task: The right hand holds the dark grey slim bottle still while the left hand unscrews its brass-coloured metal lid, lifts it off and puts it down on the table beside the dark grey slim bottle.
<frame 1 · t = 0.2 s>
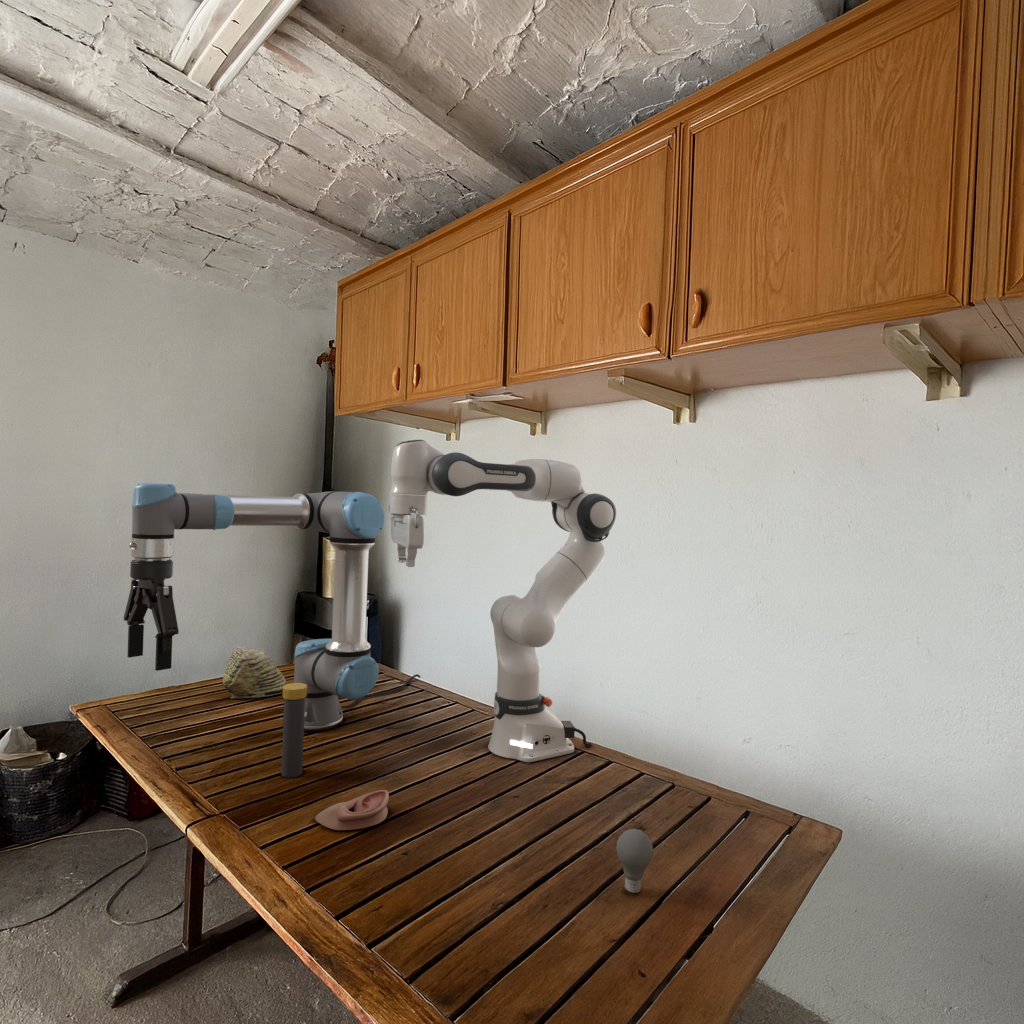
left hand: (148, 662, 129), 28 cm above the table, tool pointing down, fingers open, 13 cm apart
right hand: (405, 564, 152), 48 cm above the table, tool pointing down, fingers open, 8 cm apart
fossil: (254, 694, 198), on the table
anatomical model: (352, 817, 126), on the table
lid: (295, 687, 144), point 20 cm above the table, screwed on, not yet turned
dark grey slim bottle: (291, 773, 144), on the table
light bulb: (632, 891, 106), on the table
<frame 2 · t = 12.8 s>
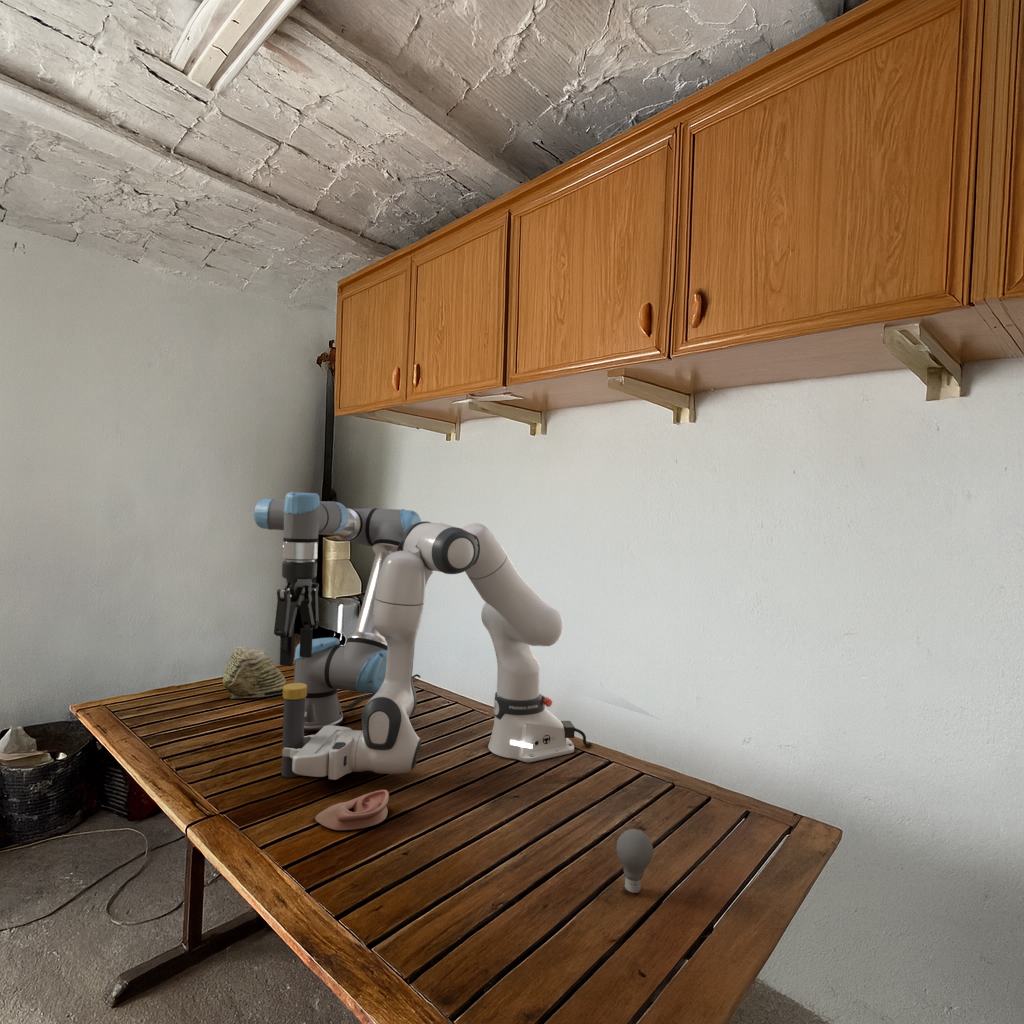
left hand: (296, 660, 144), 26 cm above the table, tool pointing down, fingers open, 7 cm apart
right hand: (289, 746, 144), 6 cm above the table, tool horizontal, fingers closed on dark grey slim bottle, 4 cm apart
dark grey slim bottle: (291, 773, 144), on the table, touching right hand
everything else where it was.
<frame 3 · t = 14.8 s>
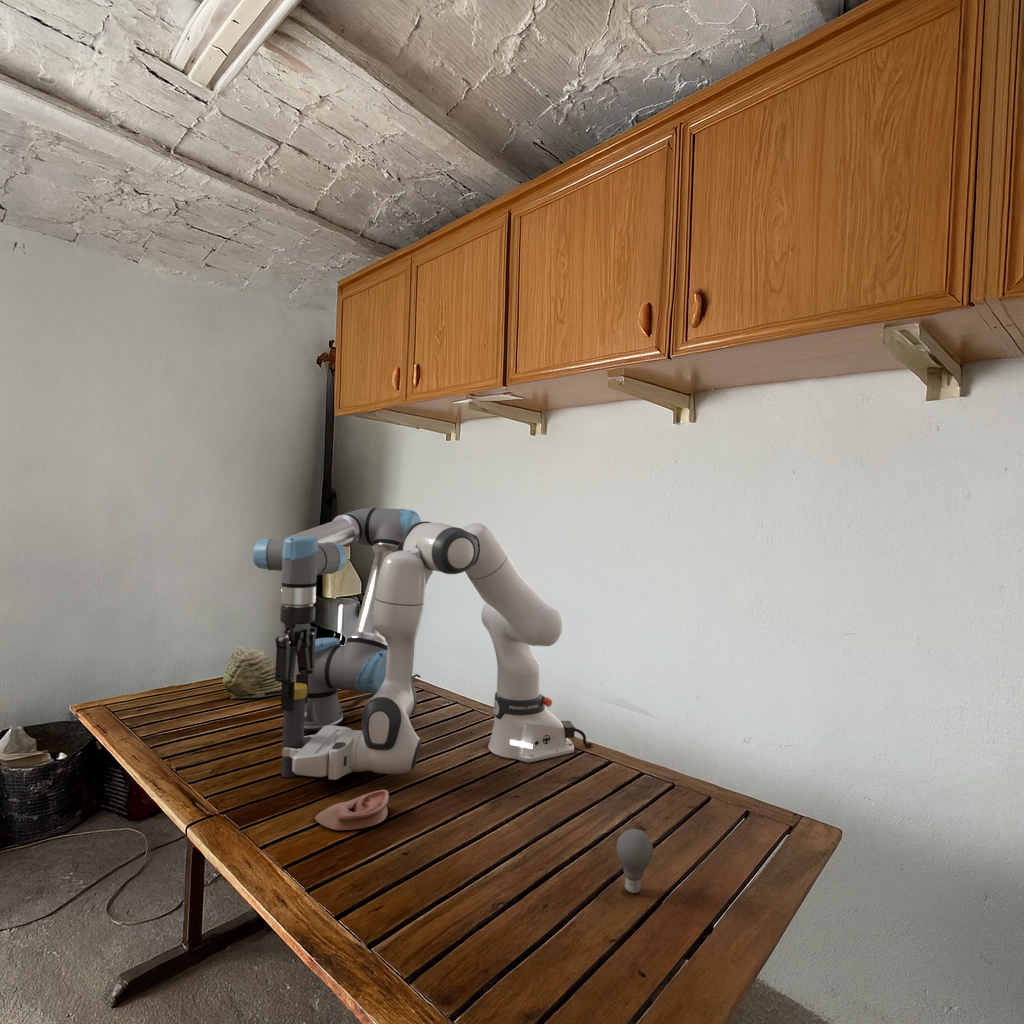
left hand: (294, 706, 144), 15 cm above the table, tool pointing down, fingers closed on lid, 5 cm apart
right hand: (288, 746, 144), 6 cm above the table, tool horizontal, fingers closed on dark grey slim bottle, 4 cm apart
lid: (295, 687, 144), point 20 cm above the table, screwed on, not yet turned, touching left hand
dark grey slim bottle: (291, 773, 144), on the table, touching right hand
everything else where it was.
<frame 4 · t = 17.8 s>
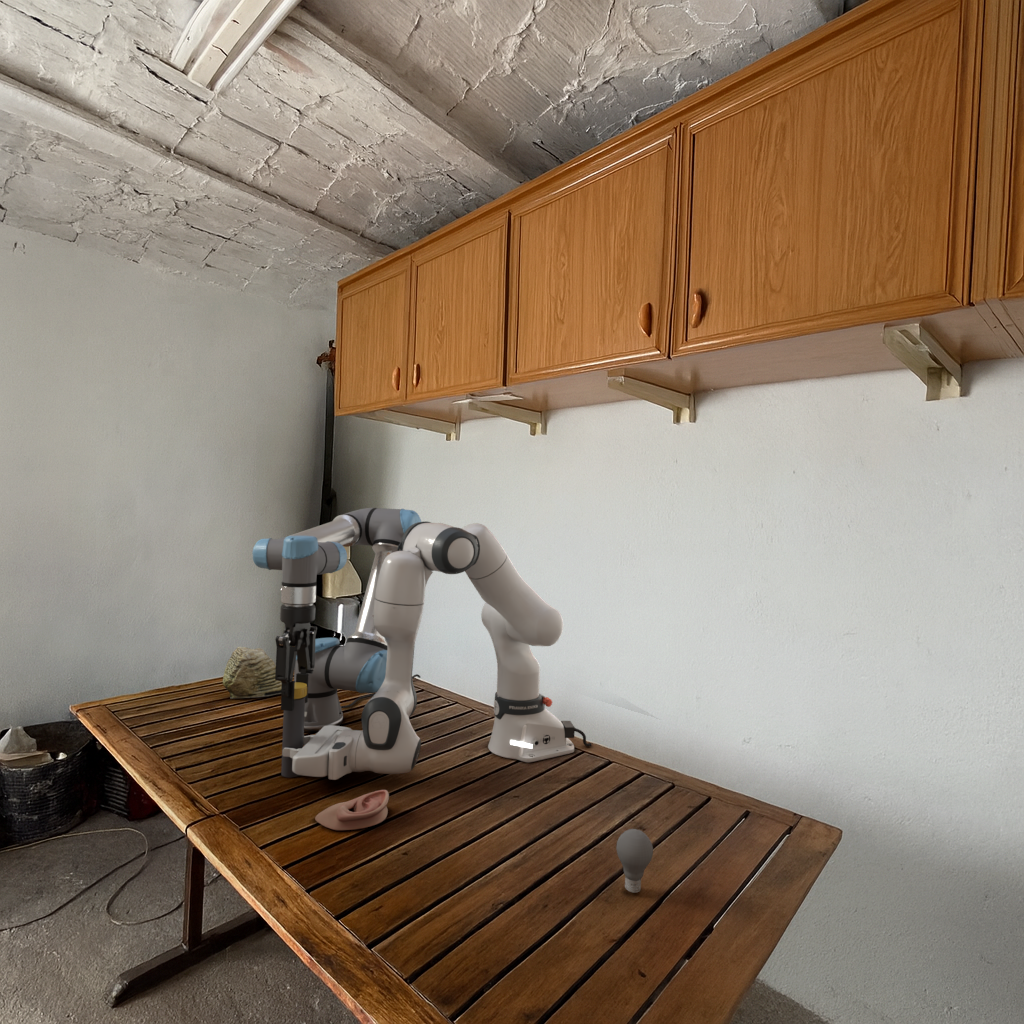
left hand: (294, 705, 144), 16 cm above the table, tool pointing down, fingers closed on lid, 5 cm apart
right hand: (288, 746, 144), 6 cm above the table, tool horizontal, fingers closed on dark grey slim bottle, 4 cm apart
lid: (295, 687, 144), point 20 cm above the table, turned 89° so far, risen 0.1 cm, still on its thread, touching left hand
dark grey slim bottle: (291, 773, 144), on the table, touching right hand
everything else where it was.
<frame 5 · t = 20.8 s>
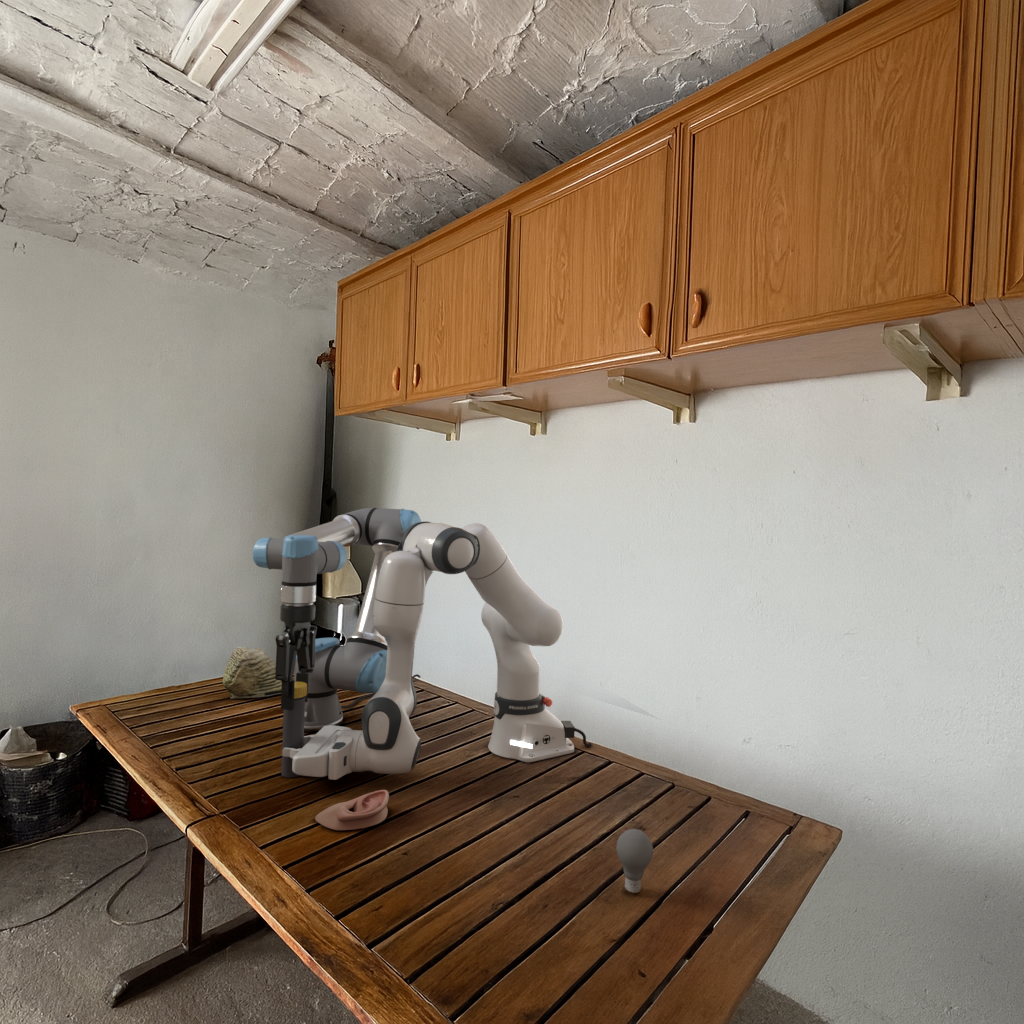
left hand: (294, 704, 144), 16 cm above the table, tool pointing down, fingers closed on lid, 5 cm apart
right hand: (288, 746, 144), 6 cm above the table, tool horizontal, fingers closed on dark grey slim bottle, 4 cm apart
lid: (295, 686, 144), point 20 cm above the table, turned 178° so far, risen 0.3 cm, still on its thread, touching left hand
dark grey slim bottle: (291, 773, 144), on the table, touching right hand
everything else where it was.
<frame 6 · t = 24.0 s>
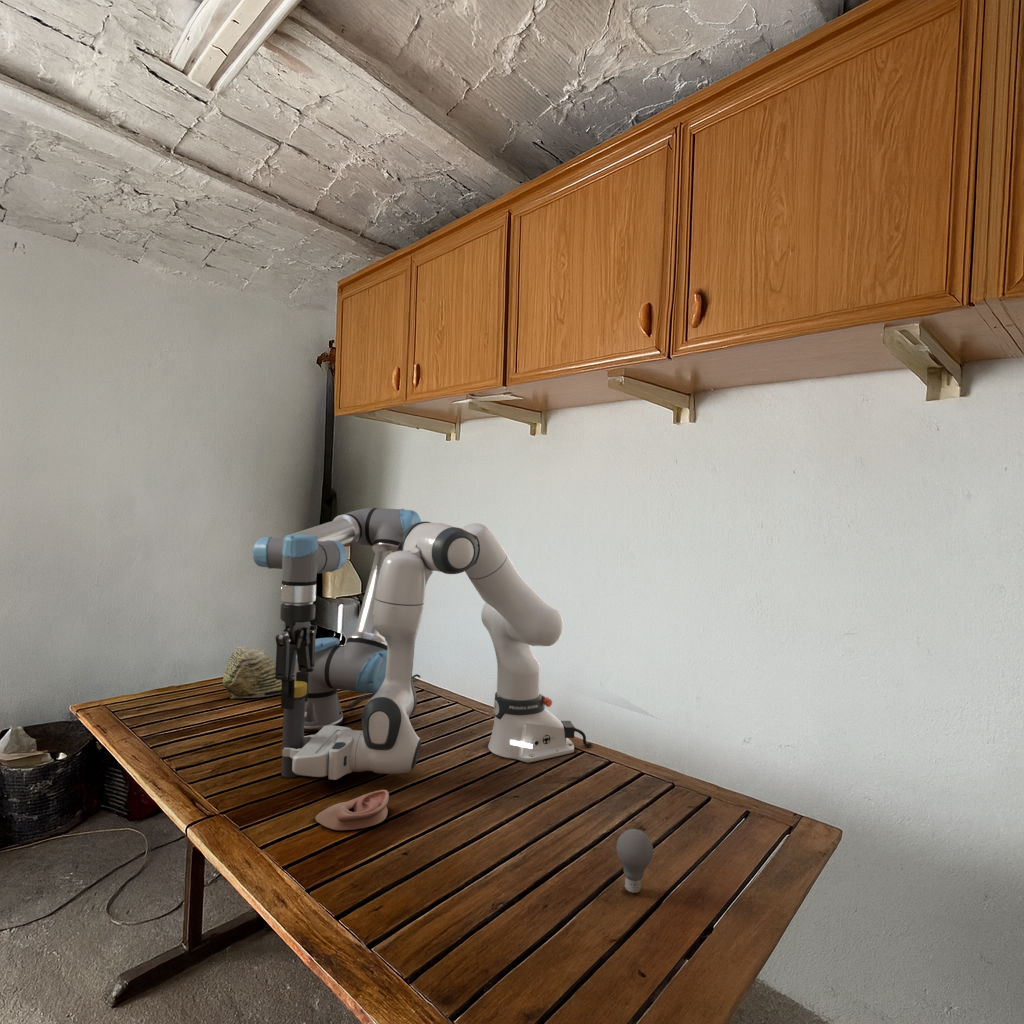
left hand: (294, 704, 144), 16 cm above the table, tool pointing down, fingers closed on lid, 5 cm apart
right hand: (288, 746, 144), 6 cm above the table, tool horizontal, fingers closed on dark grey slim bottle, 4 cm apart
lid: (295, 685, 144), point 20 cm above the table, turned 266° so far, risen 0.4 cm, still on its thread, touching left hand
dark grey slim bottle: (291, 773, 144), on the table, touching right hand
everything else where it was.
when the left hand's fingers open (0 cm above the table, at t = 31.8 s): lid drops 2 cm, point 2 cm above the table.
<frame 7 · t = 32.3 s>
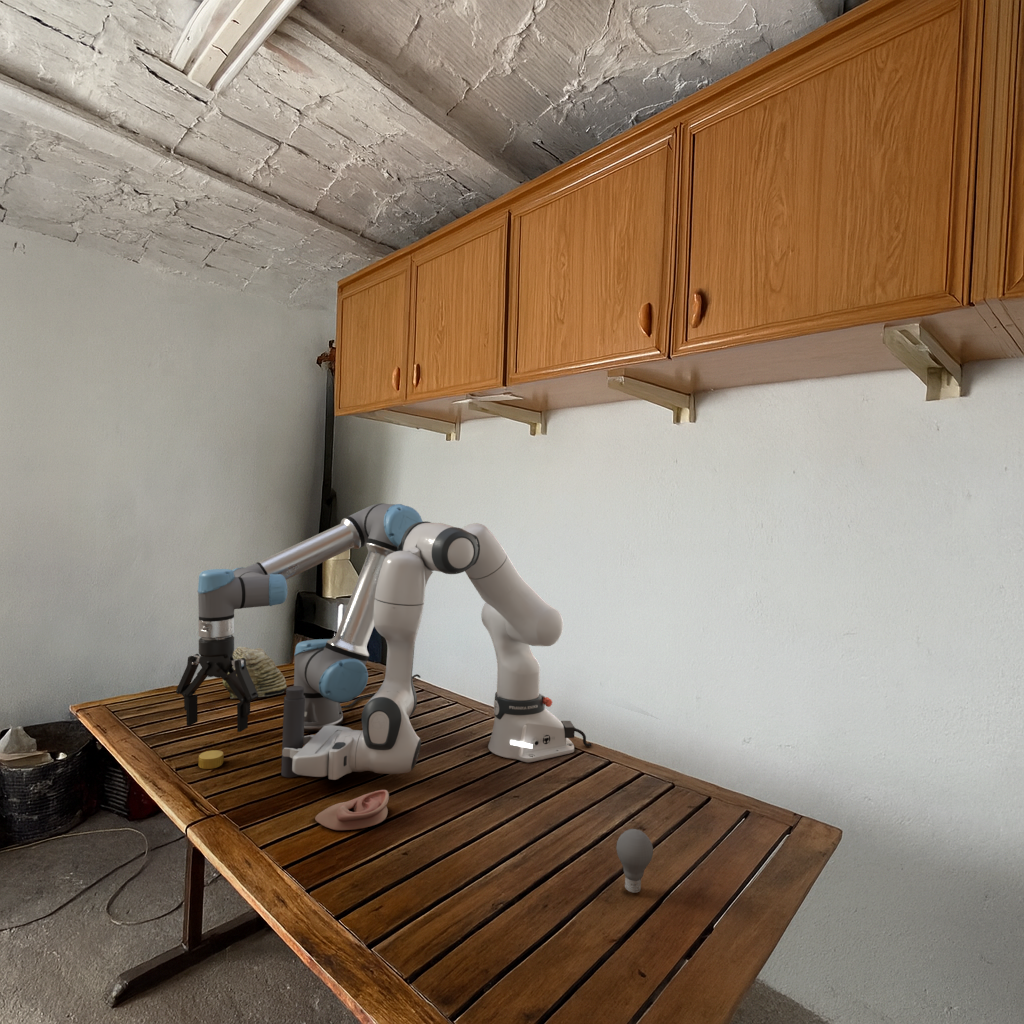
left hand: (217, 726, 148), 9 cm above the table, tool pointing down, fingers open, 13 cm apart
right hand: (288, 746, 144), 6 cm above the table, tool horizontal, fingers closed on dark grey slim bottle, 4 cm apart
lid: (211, 756, 147), point 2 cm above the table, off its thread
dark grey slim bottle: (291, 773, 144), on the table, touching right hand
everything else where it was.
when the right hand's fingers open (6 cm above the table, at t = 32.5 s): dark grey slim bottle stays where it is, on the table.
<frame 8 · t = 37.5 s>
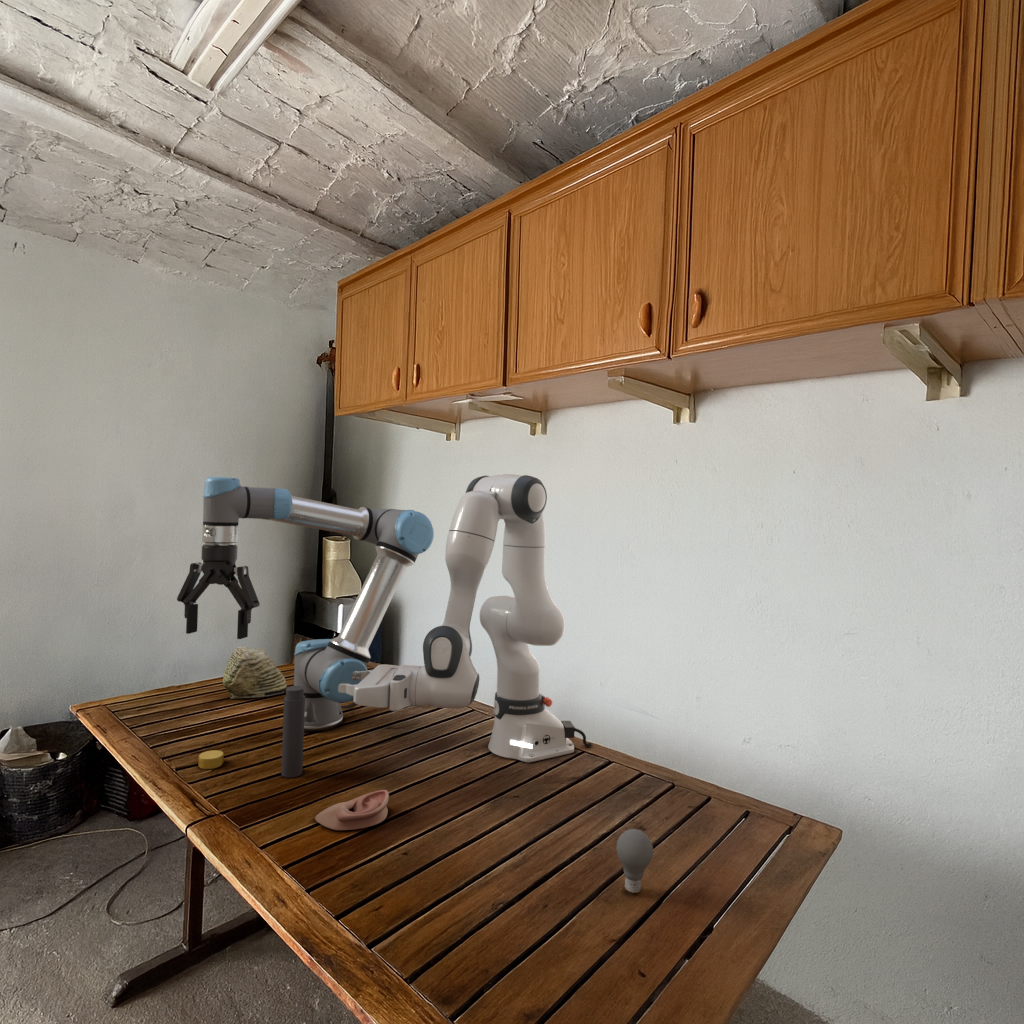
left hand: (216, 635, 147), 30 cm above the table, tool pointing down, fingers open, 13 cm apart
right hand: (346, 681, 143), 22 cm above the table, tool horizontal, fingers open, 8 cm apart
dark grey slim bottle: (291, 773, 144), on the table
everything else where it was.
at the end: lid came off its thread; lid point 2.0 cm above the table; the left hand is holding nothing; the right hand is holding nothing; dark grey slim bottle tilted 0°; dark grey slim bottle moved 0.0 cm from its start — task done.
